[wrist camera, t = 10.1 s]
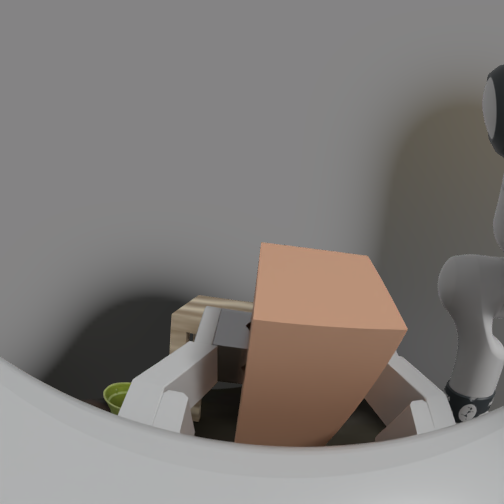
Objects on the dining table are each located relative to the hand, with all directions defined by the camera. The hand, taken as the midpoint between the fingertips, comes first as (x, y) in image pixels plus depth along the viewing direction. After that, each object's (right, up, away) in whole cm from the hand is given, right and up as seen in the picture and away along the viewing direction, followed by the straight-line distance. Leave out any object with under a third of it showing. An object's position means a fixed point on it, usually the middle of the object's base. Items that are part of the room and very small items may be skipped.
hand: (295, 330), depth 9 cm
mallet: (-1, -8, +1) cm, 8 cm away
